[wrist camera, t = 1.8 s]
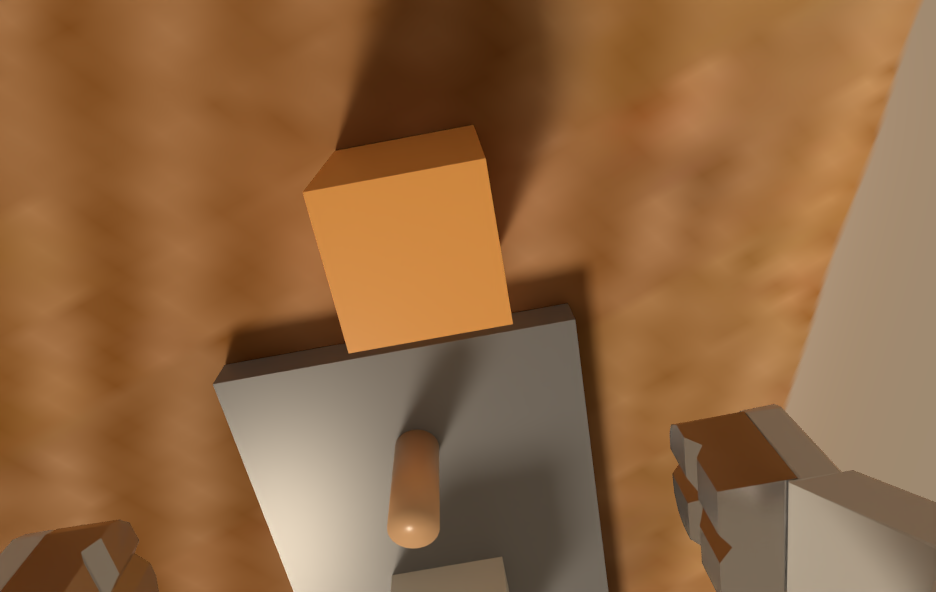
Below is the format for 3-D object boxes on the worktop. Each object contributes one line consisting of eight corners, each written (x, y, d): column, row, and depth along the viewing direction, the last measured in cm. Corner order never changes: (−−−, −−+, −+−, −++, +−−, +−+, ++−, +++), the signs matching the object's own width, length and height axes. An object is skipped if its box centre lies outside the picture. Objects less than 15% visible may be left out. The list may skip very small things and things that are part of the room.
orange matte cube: (334, 150, 23) (302, 192, 17) (473, 124, 23) (485, 158, 17) (368, 279, 25) (348, 353, 19) (495, 256, 25) (513, 323, 19)
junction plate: (224, 364, 26) (148, 489, 19) (567, 303, 26) (616, 407, 19) (338, 666, 33) (312, 836, 26) (607, 621, 33) (653, 782, 26)
